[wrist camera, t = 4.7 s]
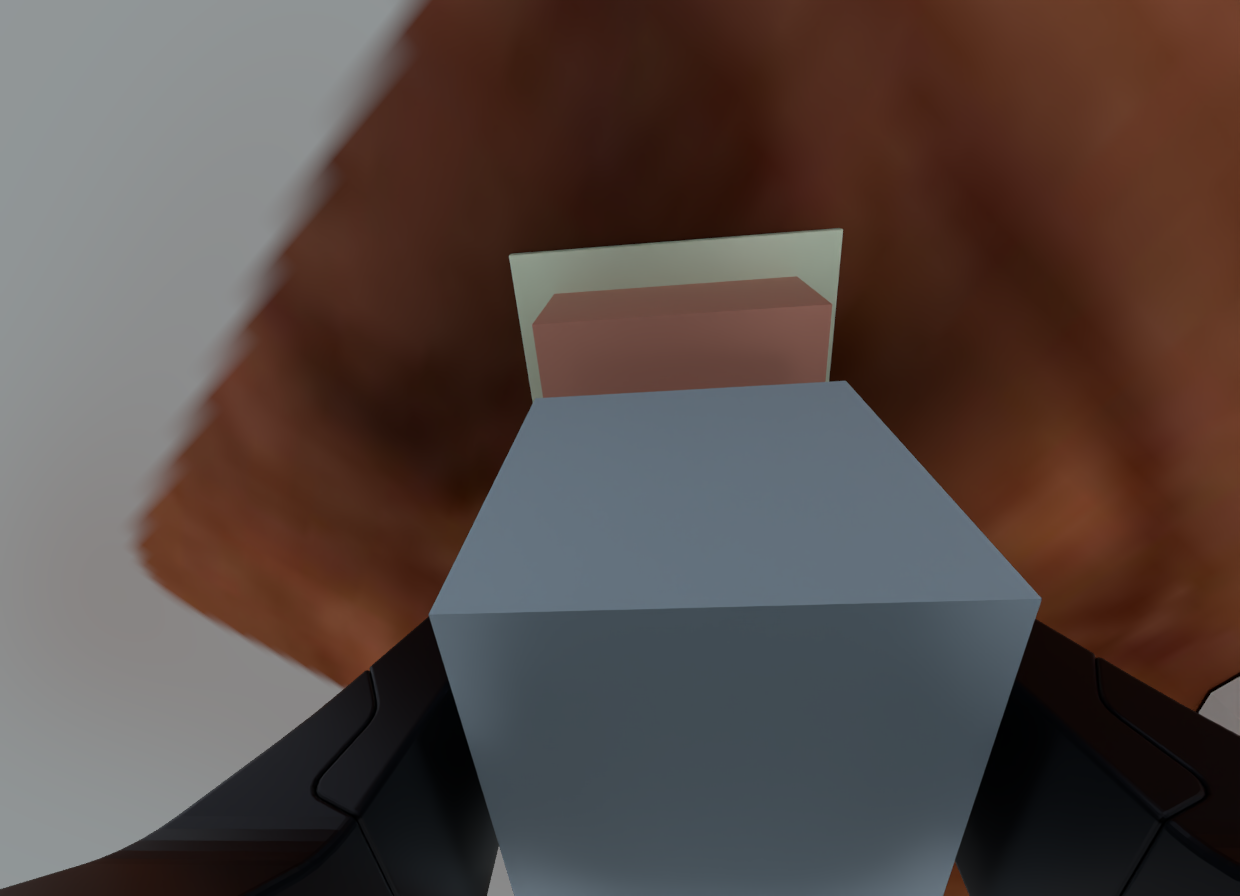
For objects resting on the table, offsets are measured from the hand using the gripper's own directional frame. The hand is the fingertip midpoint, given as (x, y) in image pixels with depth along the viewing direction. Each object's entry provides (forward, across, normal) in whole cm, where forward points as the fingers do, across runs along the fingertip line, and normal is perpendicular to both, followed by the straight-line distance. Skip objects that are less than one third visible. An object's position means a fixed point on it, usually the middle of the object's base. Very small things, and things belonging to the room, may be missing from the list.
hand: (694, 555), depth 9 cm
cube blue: (+1, 0, 0) cm, 1 cm away
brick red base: (+7, 0, 0) cm, 7 cm away
